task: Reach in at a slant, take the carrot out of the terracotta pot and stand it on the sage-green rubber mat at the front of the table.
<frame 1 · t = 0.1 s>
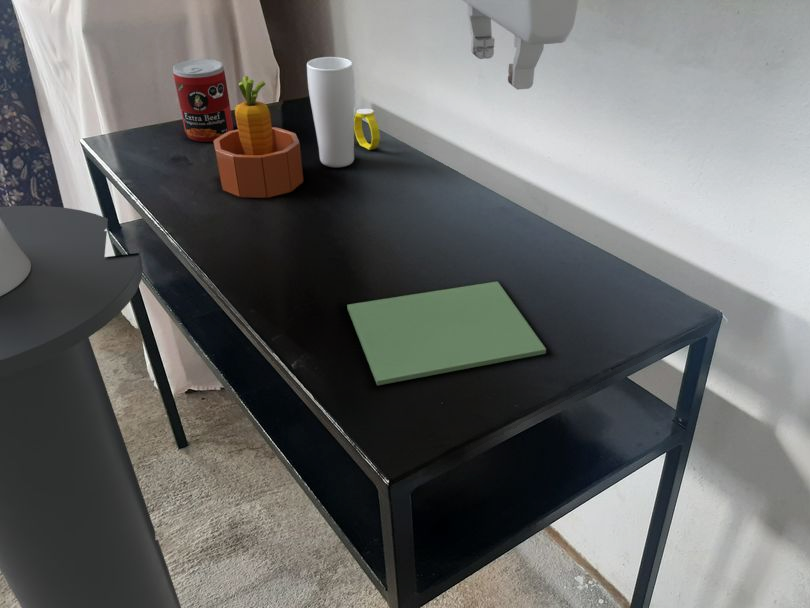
hand: (500, 71, 67), 26 cm above the table, tool pointing down, fingers open, 8 cm apart
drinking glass: (337, 163, 114), on the table
mat: (443, 330, 78), on the table
pot: (262, 180, 107), on the table
watch: (367, 148, 119), on the table
carrot: (262, 181, 108), resting in pot
canned food: (210, 135, 122), on the table
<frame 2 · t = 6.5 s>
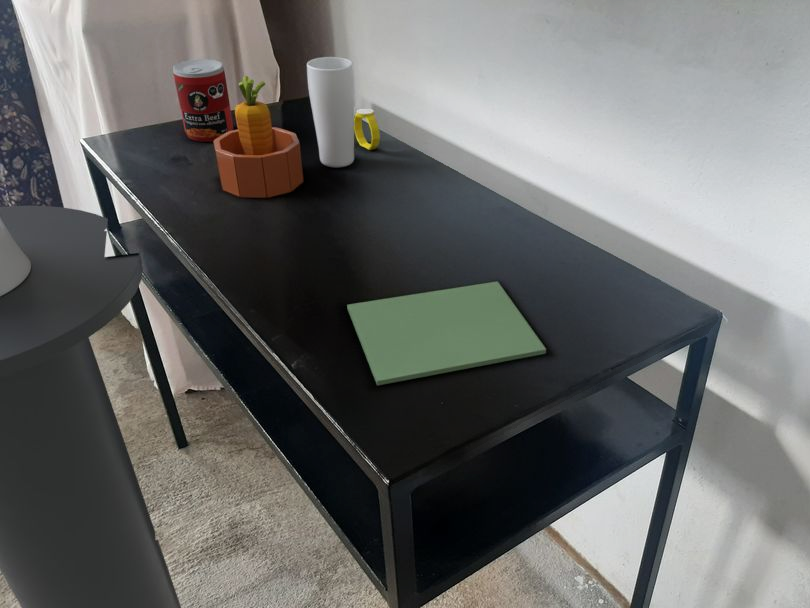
nothing on the table moved.
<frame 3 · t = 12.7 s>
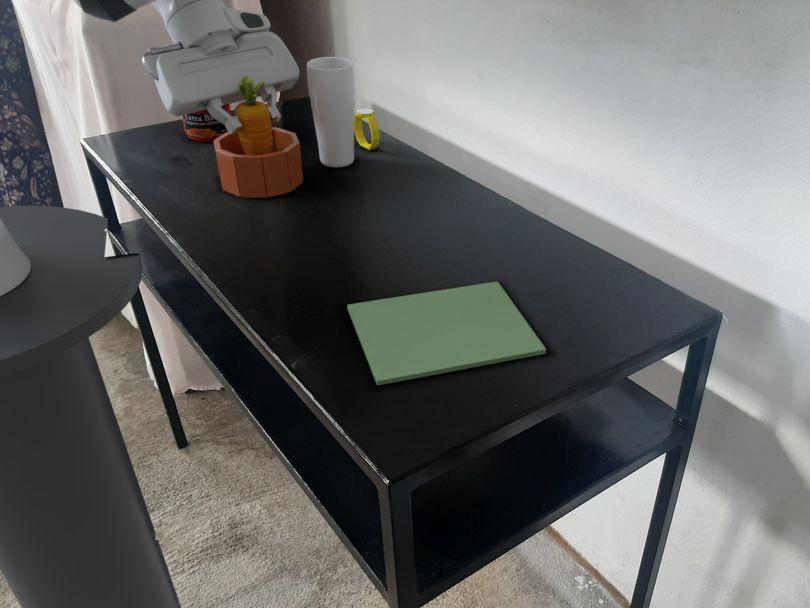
hand: (256, 125, 102), 8 cm above the table, tool tilted 45°, fingers closed on carrot, 5 cm apart
carrot: (262, 181, 108), resting in pot, touching gripper
everything else where it was.
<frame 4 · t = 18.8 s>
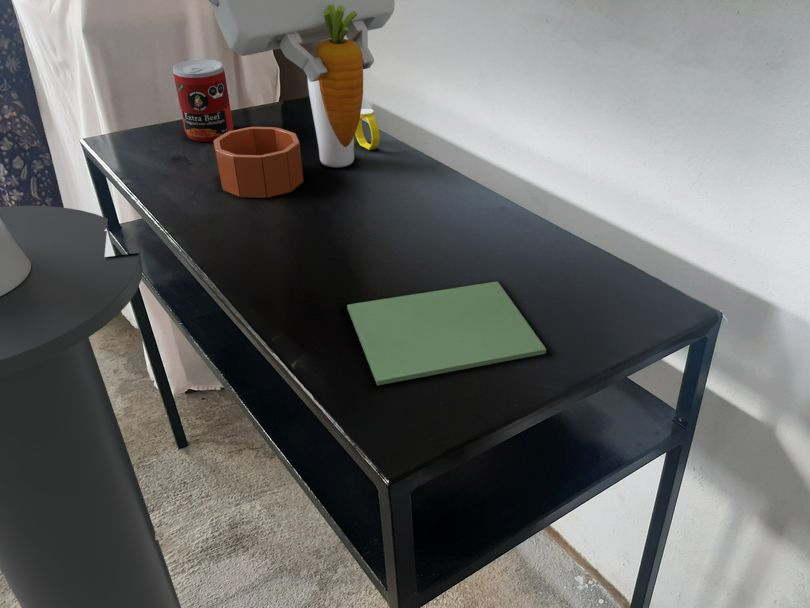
hand: (344, 71, 77), 22 cm above the table, tool tilted 45°, fingers closed on carrot, 5 cm apart
carrot: (345, 148, 83), point 14 cm above the table, touching gripper
everything else where it was.
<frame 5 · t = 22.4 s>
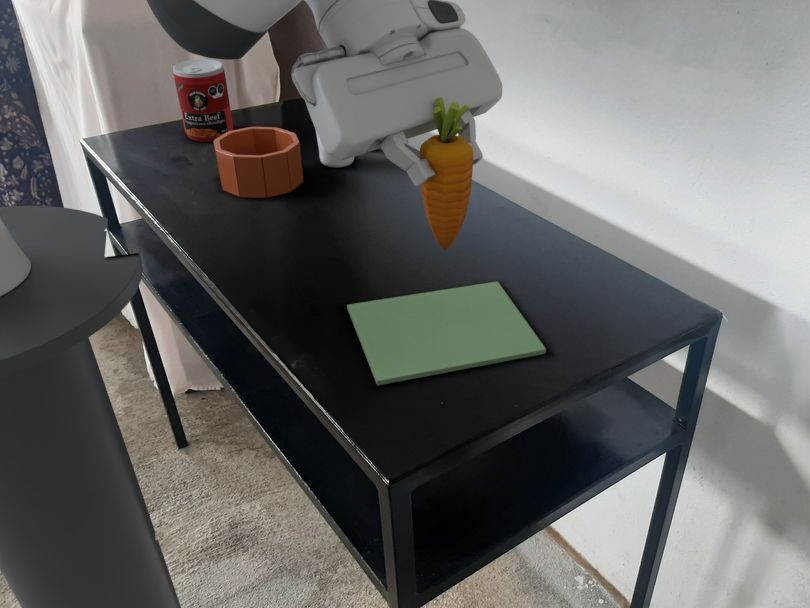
hand: (451, 172, 67), 18 cm above the table, tool tilted 45°, fingers closed on carrot, 5 cm apart
carrot: (445, 251, 73), point 10 cm above the table, touching gripper
everything else where it was.
when the fingers open (9 cm above the table, at t = 25.3 s): carrot stays where it is, resting on mat.
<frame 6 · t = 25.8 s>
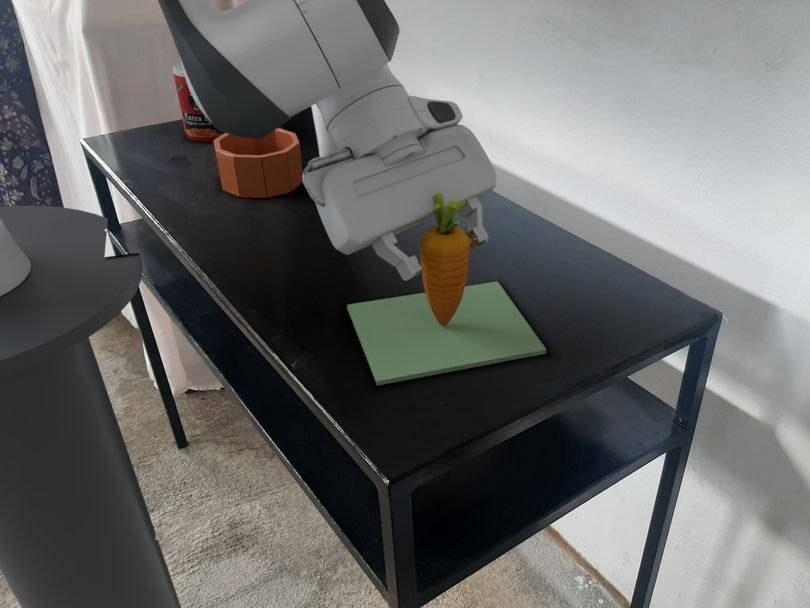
hand: (448, 260, 73), 9 cm above the table, tool tilted 45°, fingers open, 8 cm apart
carrot: (443, 326, 78), resting on mat
everything else where it was.
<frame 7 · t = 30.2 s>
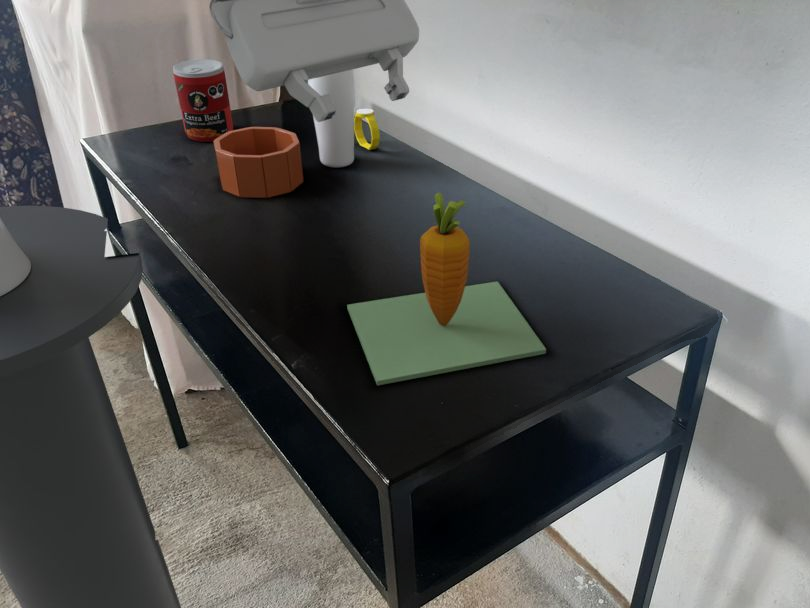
hand: (366, 106, 72), 21 cm above the table, tool tilted 45°, fingers open, 8 cm apart
nothing on the table moved.
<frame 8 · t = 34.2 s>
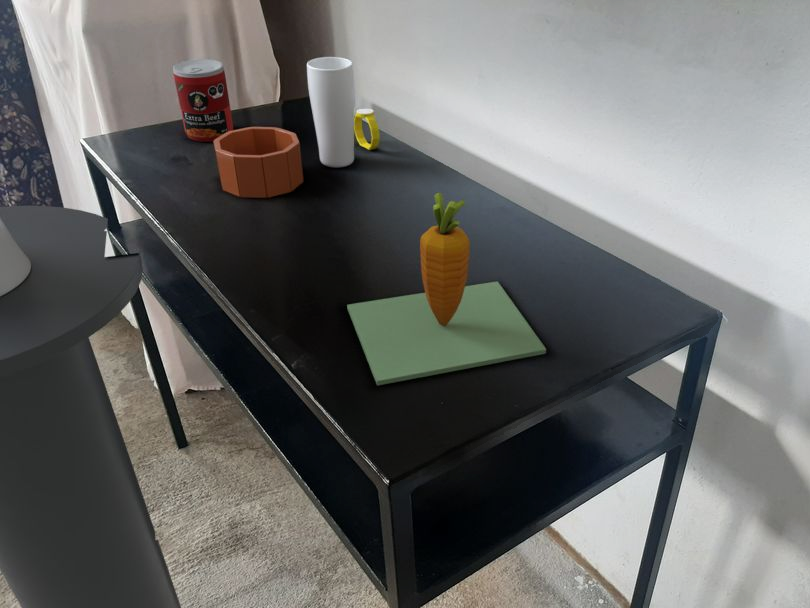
nothing on the table moved.
at the end: carrot inside the target area on the mat (0.1 cm from its centre), point 0.4 cm above the mat's base; carrot tilted 0°; the gripper is holding nothing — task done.
